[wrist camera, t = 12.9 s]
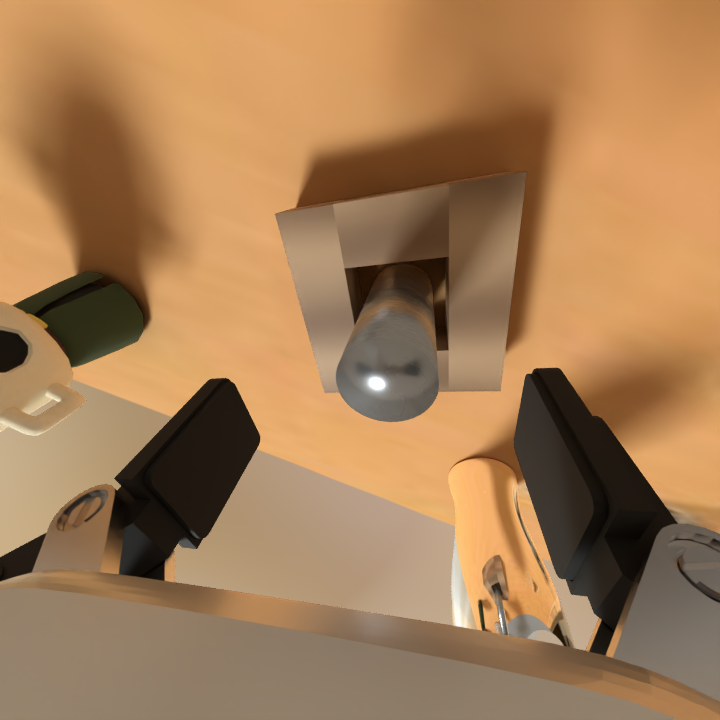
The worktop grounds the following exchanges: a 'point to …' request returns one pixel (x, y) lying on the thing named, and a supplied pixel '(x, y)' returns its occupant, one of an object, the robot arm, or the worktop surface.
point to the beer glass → (499, 559)
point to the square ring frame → (409, 243)
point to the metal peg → (392, 348)
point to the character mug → (58, 346)
